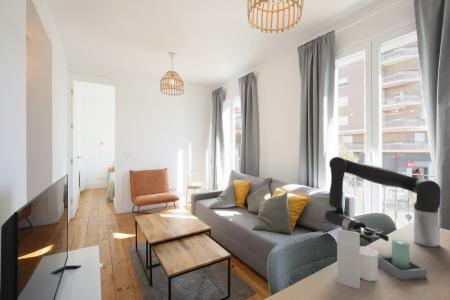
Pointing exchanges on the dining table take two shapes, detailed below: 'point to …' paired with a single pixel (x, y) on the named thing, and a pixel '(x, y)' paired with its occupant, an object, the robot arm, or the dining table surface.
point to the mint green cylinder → (401, 254)
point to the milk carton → (348, 258)
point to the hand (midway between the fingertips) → (379, 239)
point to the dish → (402, 275)
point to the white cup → (368, 263)
